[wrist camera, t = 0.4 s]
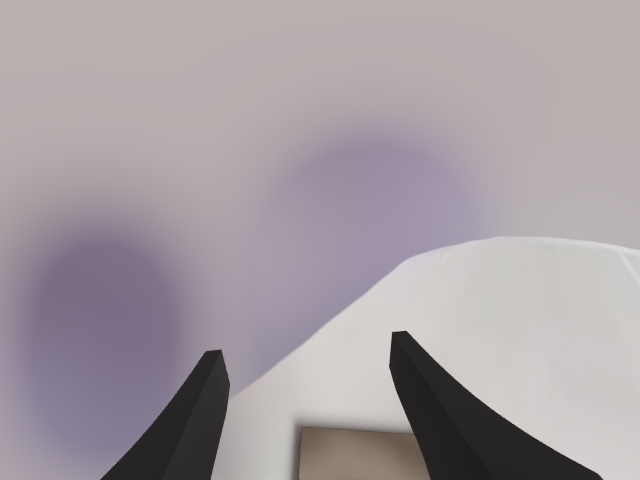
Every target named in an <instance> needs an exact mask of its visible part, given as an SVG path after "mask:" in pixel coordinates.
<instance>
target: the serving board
mask: <svg viewBox="0 0 640 480" xmlns="http://www.w3.org/2000/svg"><path fill="white" fill-rule="evenodd" d="M298 480H431V479H430V476H429V473H428V470H427V467H426V464H425V461H424V458H423V455H422V452H421V450H420V447H419V444H418V442H417V440H416V437H415V435H411V434H397V433H382V432H368V431H354V430H340V429H325V428H311V427H302V431H301V444H300V460H299V477H298Z"/></svg>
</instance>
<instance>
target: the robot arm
mask: <svg viewBox="0 0 640 480" xmlns="http://www.w3.org/2000/svg"><path fill="white" fill-rule="evenodd" d="M389 368H390V371H391V375H392V378H393V382H394V385H395V388H396V391H397V394H398V396H399V399H400V401H401V404H402V406H403V408H404V411H405V413H406V416H407V418H408V420H409V423H410V425H411V428H412V430H413V432H414V435H415V437H416V440H417V442H418V444H419V447H420V450H421V452H422V455H423V458H424V461H425V464H426V467H427V470H428V473H429V476H430V479H431V480H603V479H602V478H601V477H600V475H599V474H597V473H595V472H594V471H592V470H590V469H588V468H586V467H584V466H583V465H581V464H579V463H577V462H575V461H573V460H571V459H570V458H568V457H566V456H564V455H562V454H560V453H559V452H557V451H555V450H554V449H552V448H550V447H549V446H547V445H545V444H544V443H542V442H540V441H539V440H537V439H535V438H534V437H532V436H531V435H529V434H527V433H526V432H524V431H523V430H521V429H520V428H518V427H517V426H515V425H514V424H512V423H511V422H509V421H508V420H506V419H505V418H503V417H502V416H501V415H499V414H498V413H496V412H495V411H494V410H492V409H491V408H490V407H488V406H487V405H486V404H484V403H483V402H482V401H480V400H479V399H478V398H477V397H475V396H474V395H473V394H472V393H471V392H469V391H468V390H467V389H466V388H465V387H463V386H462V385H461V384H460V383H459V382H458V381H457V380H455V379H454V378H453V377H452V376H451V375H450V374H449V373H448V372H447V371H446V370H445V369H444V368H442V367H441V366H440V365H439V364H438V363H437V362H436V361H435V360H434V359H433V358H432V357H431V356H430V355H429V354H428V353H427V352H426V351H425V350H424V349H423V348H422V347H421V346H420V345H419V344H418V342H417V341H416V340H415V339H414V338H413V337H412V336H411V335H410V334H409V333H408V332H407V331H399V332H392V340H391V351H390V363H389ZM229 388H230V383H229V379H228V374H227V371H226V366H225V363H224V358H223V354H222V351H221V350H213V351H206V352H205V353H204V354H203V356H202V357H201V359H200V360H199V362H198V364H197V365H196V366H195V368H194V370H193V371H192V372H191V374H190V375H189V377H188V378H187V379H186V381H185V382H184V384H183V385H182V386H181V388H180V389H179V390H178V392H177V393H176V394H175V396H174V397H173V399H172V400H171V401H170V402H169V404H168V405H167V406H166V408H165V409H164V410H163V411H162V413H161V414H160V415H159V416H158V418H157V419H156V420H155V421H154V422H153V424H152V425H151V426H150V427H149V428H148V430H147V431H146V432H145V433H144V434H143V435H142V436H141V438H140V439H139V440H138V441H137V442H136V443H135V444H134V445H133V447H132V448H131V449H130V450H129V451H128V452H127V453H126V454H125V455H124V456H123V457H122V458H121V459H120V460H119V461H118V462H117V464H115V466H113V467H112V468H111V469H110V470H109V471H108V472H107V474H105V475H104V476H103V477H102V479H100V480H211V475H212V470H213V466H214V462H215V458H216V454H217V449H218V445H219V441H220V437H221V433H222V429H223V424H224V420H225V416H226V411H227V404H228V397H229Z"/></svg>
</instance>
